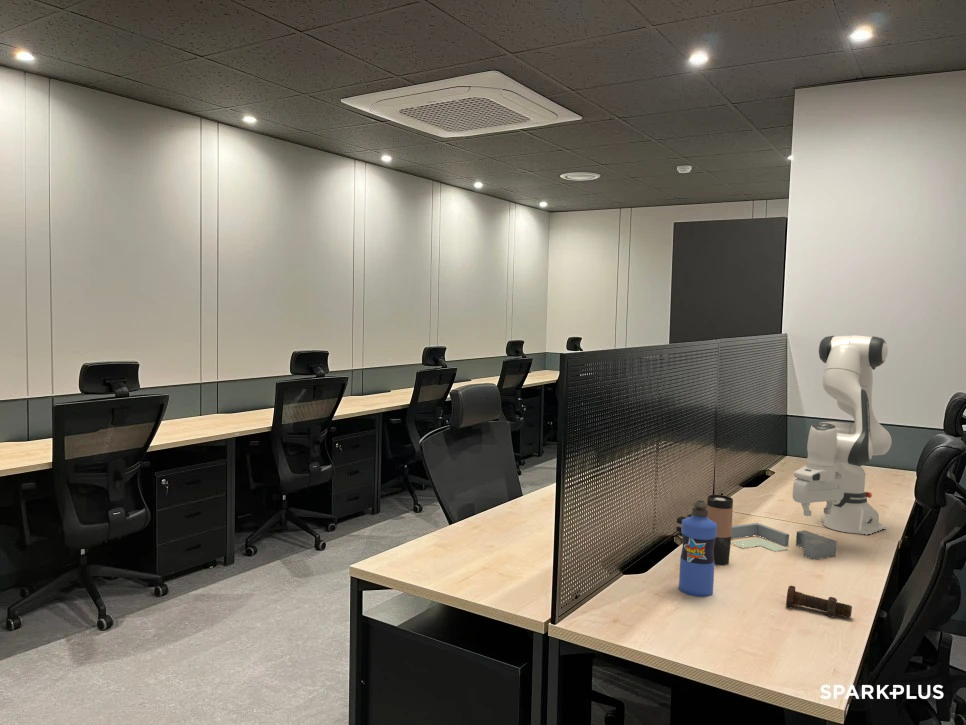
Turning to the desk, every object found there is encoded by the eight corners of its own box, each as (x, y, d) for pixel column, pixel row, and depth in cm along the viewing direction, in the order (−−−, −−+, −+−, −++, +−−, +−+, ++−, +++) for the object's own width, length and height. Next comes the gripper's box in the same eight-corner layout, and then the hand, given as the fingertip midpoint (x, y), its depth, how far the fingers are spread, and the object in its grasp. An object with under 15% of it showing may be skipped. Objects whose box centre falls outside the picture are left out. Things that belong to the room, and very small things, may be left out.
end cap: (692, 540, 234) (693, 521, 233) (675, 535, 239) (676, 516, 239) (709, 535, 240) (710, 516, 240) (692, 530, 246) (693, 511, 245)
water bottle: (683, 581, 196) (687, 495, 195) (716, 588, 192) (721, 500, 190) (674, 591, 188) (679, 502, 187) (709, 599, 184) (714, 507, 182)
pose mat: (759, 538, 238) (759, 537, 238) (788, 549, 227) (788, 548, 227) (729, 543, 232) (729, 542, 232) (756, 554, 222) (756, 553, 221)
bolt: (849, 627, 174) (785, 610, 182) (851, 611, 178) (788, 596, 185) (851, 612, 171) (786, 595, 179) (853, 596, 175) (789, 581, 183)
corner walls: (756, 533, 244) (757, 522, 244) (788, 545, 232) (789, 534, 231) (719, 539, 237) (719, 527, 236) (749, 551, 224) (750, 539, 224)
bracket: (804, 544, 234) (805, 530, 233) (835, 556, 223) (836, 541, 222) (783, 548, 229) (784, 533, 229) (813, 559, 218) (815, 544, 218)
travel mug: (729, 558, 217) (733, 496, 215) (729, 566, 209) (733, 502, 208) (704, 555, 219) (707, 493, 218) (703, 563, 212) (707, 499, 211)
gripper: (833, 469, 233) (830, 510, 233) (790, 472, 224) (787, 514, 225) (850, 473, 227) (847, 514, 228) (806, 476, 218) (803, 519, 219)
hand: (817, 514), depth 226 cm, fingers open, 8 cm apart
